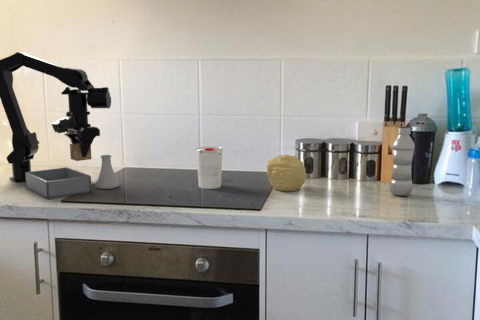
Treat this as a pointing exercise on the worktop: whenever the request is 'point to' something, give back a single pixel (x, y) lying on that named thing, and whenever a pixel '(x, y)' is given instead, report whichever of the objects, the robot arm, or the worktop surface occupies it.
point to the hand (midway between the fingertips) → (80, 155)
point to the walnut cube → (78, 152)
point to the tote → (58, 182)
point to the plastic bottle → (402, 162)
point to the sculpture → (286, 173)
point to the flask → (107, 174)
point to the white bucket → (209, 167)
